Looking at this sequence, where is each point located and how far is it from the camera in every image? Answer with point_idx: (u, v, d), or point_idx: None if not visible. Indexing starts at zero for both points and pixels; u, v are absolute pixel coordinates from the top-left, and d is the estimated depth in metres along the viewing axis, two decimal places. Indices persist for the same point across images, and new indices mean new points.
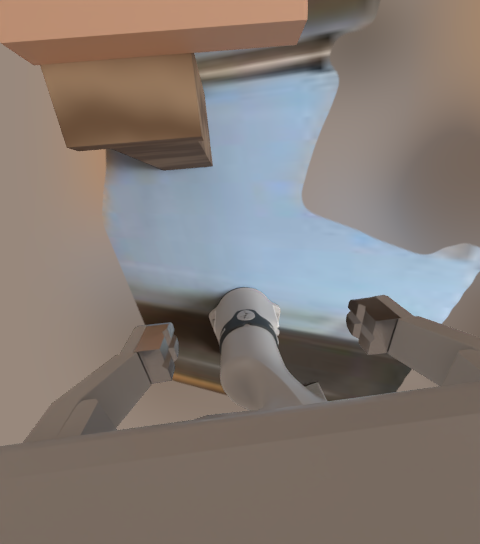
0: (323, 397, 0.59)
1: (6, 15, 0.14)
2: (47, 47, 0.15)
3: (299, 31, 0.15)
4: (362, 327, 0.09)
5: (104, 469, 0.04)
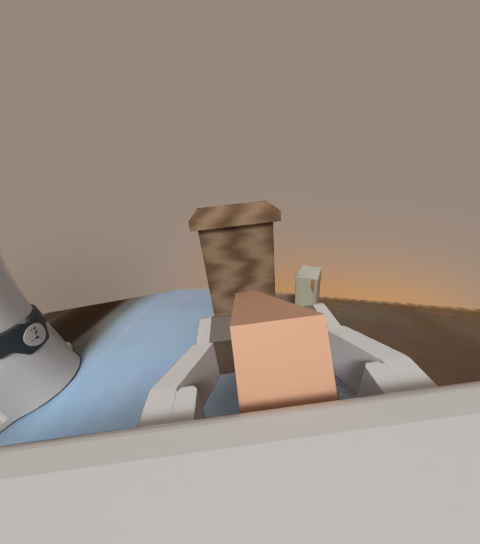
0: None
1: None
2: None
3: (235, 366, 0.05)
4: None
5: (104, 469, 0.04)
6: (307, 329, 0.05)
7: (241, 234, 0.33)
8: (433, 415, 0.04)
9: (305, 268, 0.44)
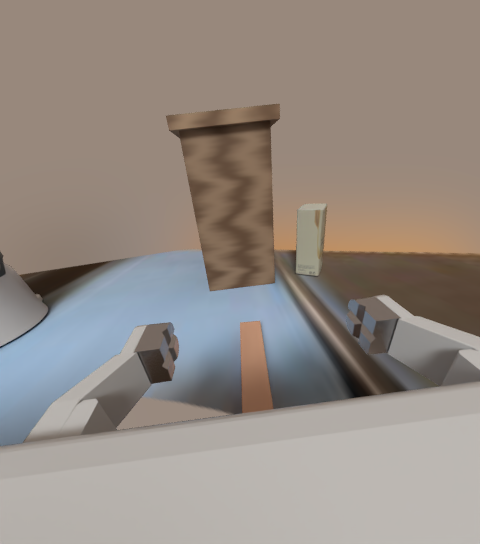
0: None
1: (251, 327, 0.25)
2: None
3: None
4: (362, 327, 0.09)
5: (104, 469, 0.04)
6: None
7: (232, 141, 0.28)
8: (433, 415, 0.04)
9: (309, 205, 0.38)
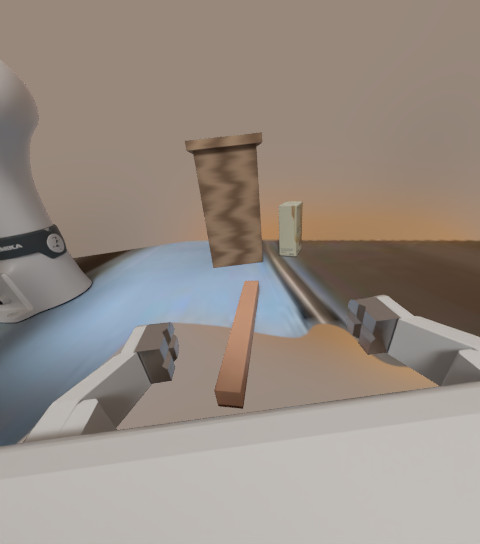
0: None
1: (251, 283, 0.37)
2: None
3: None
4: (362, 327, 0.09)
5: (104, 469, 0.04)
6: (235, 394, 0.19)
7: (229, 157, 0.40)
8: (433, 415, 0.04)
9: (289, 202, 0.50)
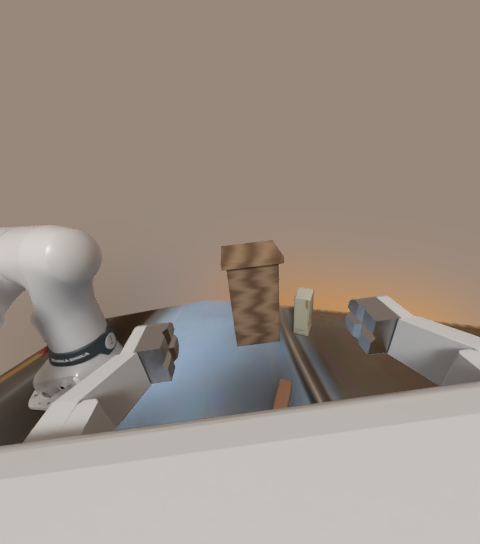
0: None
1: (285, 384, 0.44)
2: None
3: None
4: (362, 327, 0.09)
5: (104, 469, 0.04)
6: None
7: (256, 271, 0.48)
8: (433, 415, 0.04)
9: (302, 290, 0.58)
